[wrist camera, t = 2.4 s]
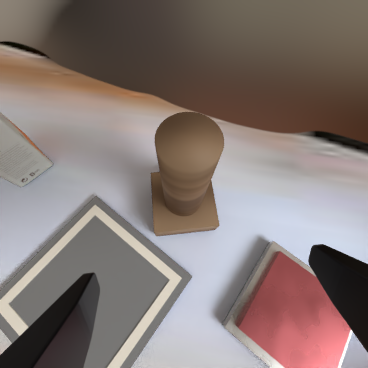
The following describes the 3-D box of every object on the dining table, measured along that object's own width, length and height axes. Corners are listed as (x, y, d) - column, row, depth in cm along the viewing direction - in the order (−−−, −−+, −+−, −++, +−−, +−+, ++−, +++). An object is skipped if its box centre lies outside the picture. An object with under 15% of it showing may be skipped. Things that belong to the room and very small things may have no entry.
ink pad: (315, 405, 16) (331, 421, 14) (222, 324, 18) (226, 330, 16) (352, 302, 19) (368, 305, 17) (269, 242, 21) (276, 240, 19)
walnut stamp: (213, 230, 21) (260, 187, 9) (157, 237, 20) (131, 199, 9) (205, 179, 23) (233, 92, 12) (153, 183, 23) (130, 98, 11)
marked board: (89, 427, 15) (85, 433, 14) (-13, 306, 18) (-19, 307, 17) (191, 276, 19) (192, 276, 18) (97, 197, 22) (95, 195, 21)
